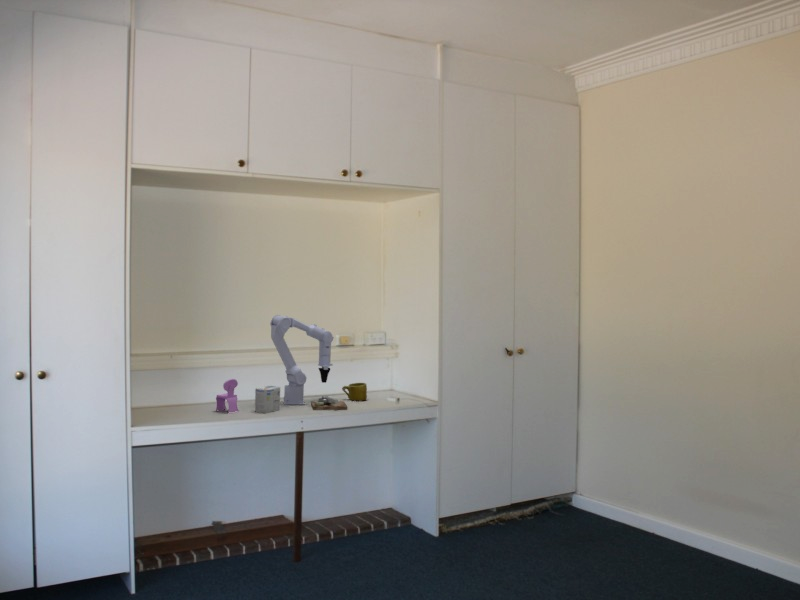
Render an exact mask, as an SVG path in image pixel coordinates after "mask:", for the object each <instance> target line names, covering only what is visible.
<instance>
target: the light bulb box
mask: <svg viewBox="0 0 800 600" xmlns="http://www.w3.org/2000/svg"><path fill="white" fill-rule="evenodd" d="M254 394H255V396H254V397H255V398H254V412H255V411H256V413H263V414H267V413H271V412H275V411H279V410H280V409H281V386H275V385H267V386H262V387H256V388H255V390H254Z"/></svg>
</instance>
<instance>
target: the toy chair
mask: <svg viewBox="0 0 800 600" xmlns="http://www.w3.org/2000/svg"><path fill="white" fill-rule="evenodd" d="M238 385H239V382H238V380H237V379H236V378H230V379H227V380H226V381H225V382H224V383H223V385H222V386H223V389H224V391H226V393H221V394H216V397H215V400H216V409H215V411H216V410H221V411H224V410H223V409H226V410H228V412H227V414H228V413H229V412H235V411H239V412H240V410H239V408H238V394H235V389H236V388H237V386H238ZM226 402H227V404H228V408H227V405H226ZM235 413H236V412H235ZM229 414H230V413H229Z"/></svg>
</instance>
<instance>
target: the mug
mask: <svg viewBox="0 0 800 600" xmlns="http://www.w3.org/2000/svg"><path fill="white" fill-rule="evenodd" d="M341 390H342V392H344V393H345V394H346V396H347V398H348V399H349V400H350V401H354V402H355V401H356V402H357V401H358V402H363V401H366V400H367V397H368V395H367V392H368V391H367V390H368V388H367V383H365V382H355V383H350V384H348V385H343V386H342V387H341ZM346 390H347V391H346Z"/></svg>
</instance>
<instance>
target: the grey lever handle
mask: <svg viewBox="0 0 800 600" xmlns="http://www.w3.org/2000/svg"><path fill="white" fill-rule="evenodd" d="M338 401H339V399H337V398H333V397H329V396H327V395H323V396H321V397H319V398H318V402H324V405H326V404H331V403H332V404H338Z"/></svg>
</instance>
